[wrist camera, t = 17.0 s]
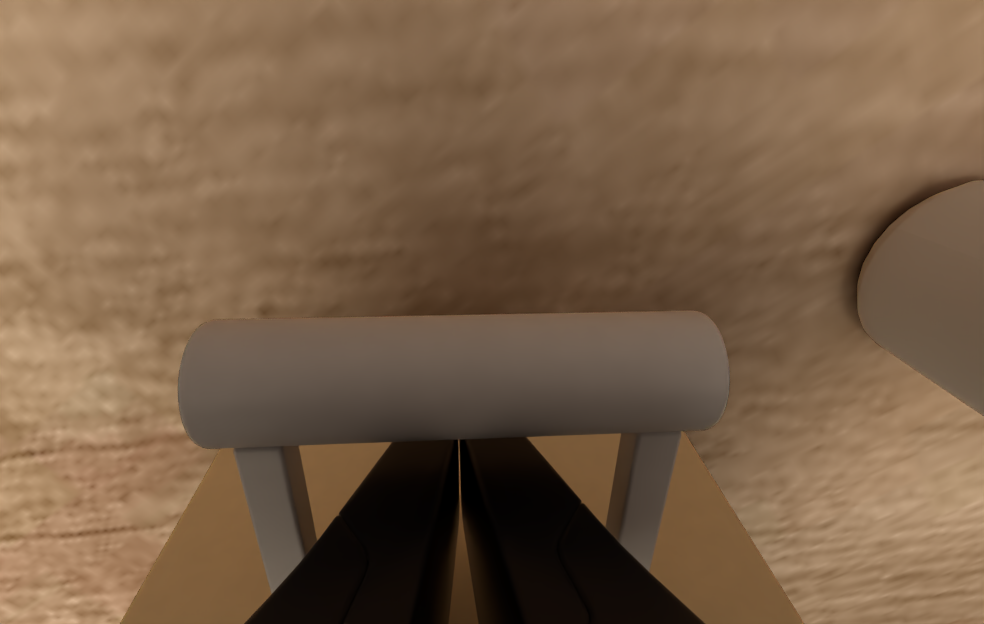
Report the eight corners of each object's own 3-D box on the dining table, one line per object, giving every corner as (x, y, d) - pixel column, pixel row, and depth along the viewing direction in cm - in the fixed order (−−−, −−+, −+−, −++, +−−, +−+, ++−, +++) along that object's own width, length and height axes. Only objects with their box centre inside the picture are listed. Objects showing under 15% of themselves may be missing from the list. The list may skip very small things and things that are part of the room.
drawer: (200, 200, 10) (-138, 401, 4) (692, 199, 11) (977, 368, 5) (308, 651, 17) (234, 970, 11) (608, 631, 18) (688, 918, 12)
